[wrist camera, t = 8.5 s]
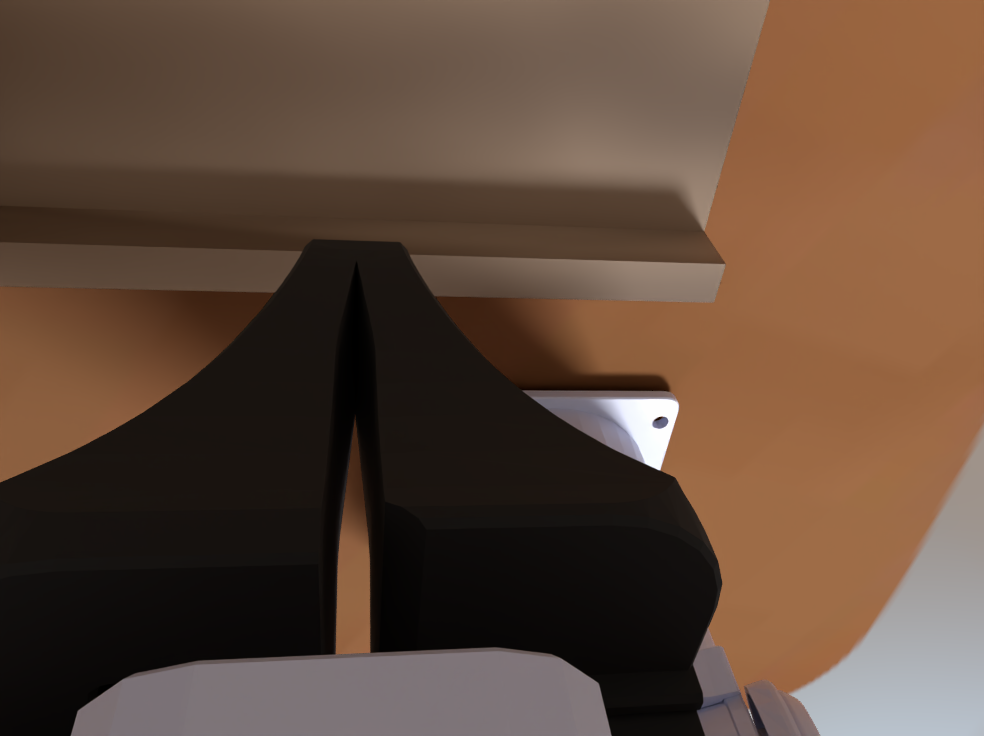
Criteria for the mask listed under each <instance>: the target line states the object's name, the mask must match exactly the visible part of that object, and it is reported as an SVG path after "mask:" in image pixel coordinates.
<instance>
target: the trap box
mask: <svg viewBox="0 0 984 736" xmlns="http://www.w3.org/2000/svg"><path fill="white" fill-rule="evenodd" d="M769 2H770V0H0V286H5V287H49V288H94V289H138V290H182V291H226V292H271V293H275V292H276V291H277V289H278V288H279V287H280V285H281V284H282V283H283V281H284V280H285V278H286V277H287V275H288V274H289V273H290V271H291V270H292V268H293V267H294V265H295V263H296V262H297V260H298V258H299V257H300V255H301V253H302V251H303V249H304V247H305V246H306V245H307V244H308V243H309V242H310V241H311V240H313V239H325V240H356V241H388V242H401V243H402V245H403V246H404V247H405V248H406V249H407V250H408V253H409V255H410V257H411V259H412V261H413V263H414V264H415V266H416V268H417V270H418V271H419V273H420V275H421V276H422V278H423V279H424V281H425V283H426V284H427V286H428V287H429V289H430V290H431V292H432V293H433V295H434V296H448V297H492V298H536V299H581V300H625V301H669V302H714V301H715V298H716V294H717V291H718V288H719V285H720V281H721V278H722V275H723V272H724V269H725V265H726V264H725V262H724V261H723V259H722V258H721V256H720V255H719V253H718V252H717V250H716V249H715V247H714V246H713V244H712V243H711V241H710V240H709V238H708V237H707V235H706V234H705V232H704V230H705V227H706V223H707V219H708V216H709V212H710V209H711V205H712V202H713V198H714V195H715V191H716V188H717V184H718V181H719V177H720V174H721V170H722V167H723V163H724V160H725V156H726V153H727V149H728V146H729V142H730V139H731V135H732V132H733V128H734V125H735V121H736V118H737V114H738V111H739V107H740V104H741V100H742V97H743V93H744V90H745V86H746V83H747V79H748V76H749V72H750V69H751V65H752V62H753V58H754V54H755V51H756V47H757V44H758V40H759V37H760V33H761V30H762V26H763V23H764V19H765V16H766V12H767V9H768V5H769Z"/></svg>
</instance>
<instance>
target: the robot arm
mask: <svg viewBox="0 0 984 736" xmlns="http://www.w3.org/2000/svg"><path fill="white" fill-rule="evenodd" d="M678 411H679V404H678V402H677V399H676V397H675V395H674V394H672V393H671V392H667V391H536V390H521V389H519V388H518V387H517V386H516V385H514V384H513V383H512V382H511V381H509V380H508V379H507V378H506V377H505V376H504V375H503V374H502V373H501V372H500V371H498V370H497V369H496V368H495V367H494V366H493V365H492V364H491V363H490V362H489V361H488V360H487V359H486V358H485V357H484V356H483V355H482V354H481V353H480V352H479V351H478V350H477V349H476V348H475V346H474V345H473V344H472V343H471V342H470V341H469V340H468V339H467V337H466V336H465V335H464V334H463V333H462V332H461V330H460V329H459V328H458V327H457V325H456V324H455V323H454V322H453V321H452V319H451V318H450V317H449V315H448V314H447V313H446V311H445V310H444V308H443V307H442V306H441V304H440V303H439V302H438V300H437V299H436V298H435V296H434V295H433V293H432V292H431V290H430V289H429V287H428V286H427V284H426V283H425V281H424V279H423V278H422V276H421V275H420V273H419V271H418V270H417V268H416V266H415V264H414V263H413V261H412V259H411V257H410V255H409V253H408V250H407V249H406V248H405V247H404V246H403V245H402V243H401V242H388V241H356V240H325V239H313V240H311V241H310V242H309V243H308V244H307V245H306V246H305V247H304V249H303V251H302V253H301V255H300V257H299V258H298V260H297V262H296V263H295V265H294V267H293V268H292V270H291V271H290V273H289V274H288V275H287V277H286V278H285V280H284V281H283V283H282V284H281V285H280V287H279V288H278V289H277V291H276V292H275V293H274V294H273V296H272V297H271V298H270V300H269V301H268V302H267V303H266V305H265V306H264V307H263V309H262V310H261V311H260V312H259V313H258V314H257V316H256V317H255V318H254V319H253V320H252V321H251V322H250V323H249V324H248V325H247V326H246V328H245V329H244V330H243V331H242V332H241V333H240V334H239V335H238V336H237V337H236V338H235V339H234V341H233V342H232V343H231V344H230V345H229V346H228V347H227V348H226V349H224V350H223V351H222V352H221V353H220V354H219V355H218V356H217V357H216V358H215V359H214V360H213V361H212V362H211V363H209V364H208V365H207V366H206V367H205V368H204V369H202V370H201V371H200V372H199V373H198V374H197V375H195V376H194V377H193V378H192V379H191V380H189V381H188V382H187V383H185V384H184V385H183V386H181V387H180V388H178V389H177V390H175V391H174V392H172V393H171V394H169V395H168V396H167V397H165V398H164V399H162V400H161V401H159V402H158V403H156V404H155V405H153V406H152V407H151V408H149V409H148V410H146V411H145V412H143V413H141V414H140V415H138V416H137V417H135V418H133V419H131V420H130V421H128V422H126V423H125V424H123V425H121V426H119V427H118V428H116V429H114V430H112V431H111V432H109V433H107V434H105V435H103V436H101V437H99V438H97V439H95V440H93V441H92V442H90V443H88V444H86V445H84V446H82V447H80V448H78V449H76V450H74V451H72V452H70V453H68V454H66V455H63V456H61V457H59V458H56V459H54V460H52V461H49V462H47V463H45V464H42V465H40V466H38V467H36V468H33V469H31V470H29V471H26V472H24V473H22V474H19V475H17V476H15V477H12V478H10V479H8V480H5V481H3V482H0V736H820V734H819V732H818V730H817V728H816V726H815V724H814V723H813V721H812V719H811V717H810V716H809V714H808V712H807V711H806V709H805V707H804V706H803V705H802V703H801V702H800V701H798V699H796V698H794V697H792V696H791V695H789V694H787V693H785V692H783V691H781V690H777V689H776V687H775V686H774V685H773V684H772V683H771V682H770V681H768V680H760V681H757V682H754V683H751V684H749V685H746V686H744V688H745V693H746V698H747V701H748V705H749V708H750V711H751V714H752V718H753V720H752V718H751V716H750V713H749V711H748V709H747V707H746V705H745V703H744V701H743V698H742V696H741V693H740V690H739V687H738V685H737V682H736V680H735V677H734V675H733V672H732V669H731V667H730V664H729V662H728V659H727V657H726V654H725V651H724V649H723V647H721V646H715V644H714V642H713V639H712V636H711V634H710V631H709V629H708V627H709V625H710V622H711V620H712V617H713V615H714V613H715V610H716V608H717V605H718V601H719V596H720V592H721V587H722V579H721V574H720V569H719V564H718V560H717V558H716V555H715V553H714V551H713V548H712V546H711V544H710V541H709V539H708V536H707V534H706V532H705V530H704V528H703V526H702V524H701V522H700V520H699V518H698V516H697V514H696V513H695V511H694V509H693V507H692V506H691V504H690V502H689V501H688V499H687V498H686V496H685V494H684V493H683V491H682V489H681V487H680V486H679V484H678V482H677V480H676V478H675V477H673V476H671V475H668V474H666V473H664V472H662V471H660V469H661V466H662V462H663V459H664V456H665V453H666V449H667V446H668V443H669V440H670V436H671V433H672V430H673V427H674V423H675V420H676V417H677V414H678ZM355 416H356V425H357V435H358V444H359V453H360V463H361V472H362V481H363V490H364V499H365V508H366V518H367V527H368V536H369V553H370V653H359V654H337V655H335V654H336V609H337V566H338V551H339V539H340V530H341V522H342V514H343V506H344V499H345V491H346V483H347V475H348V467H349V460H350V452H351V444H352V436H353V428H354V420H355ZM661 416H664V417H663V418H662V419H660V420H657V421H654V419H656V418H657V417H661ZM753 721H754V723H753ZM754 724H755V725H754Z"/></svg>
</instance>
